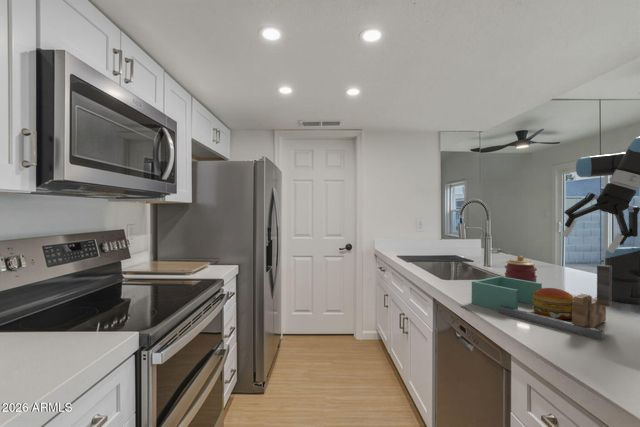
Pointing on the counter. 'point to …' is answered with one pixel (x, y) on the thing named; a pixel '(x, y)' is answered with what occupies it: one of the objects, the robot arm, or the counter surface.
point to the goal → (503, 292)
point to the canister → (521, 269)
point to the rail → (552, 322)
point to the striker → (594, 301)
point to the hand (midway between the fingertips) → (586, 243)
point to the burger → (553, 303)
